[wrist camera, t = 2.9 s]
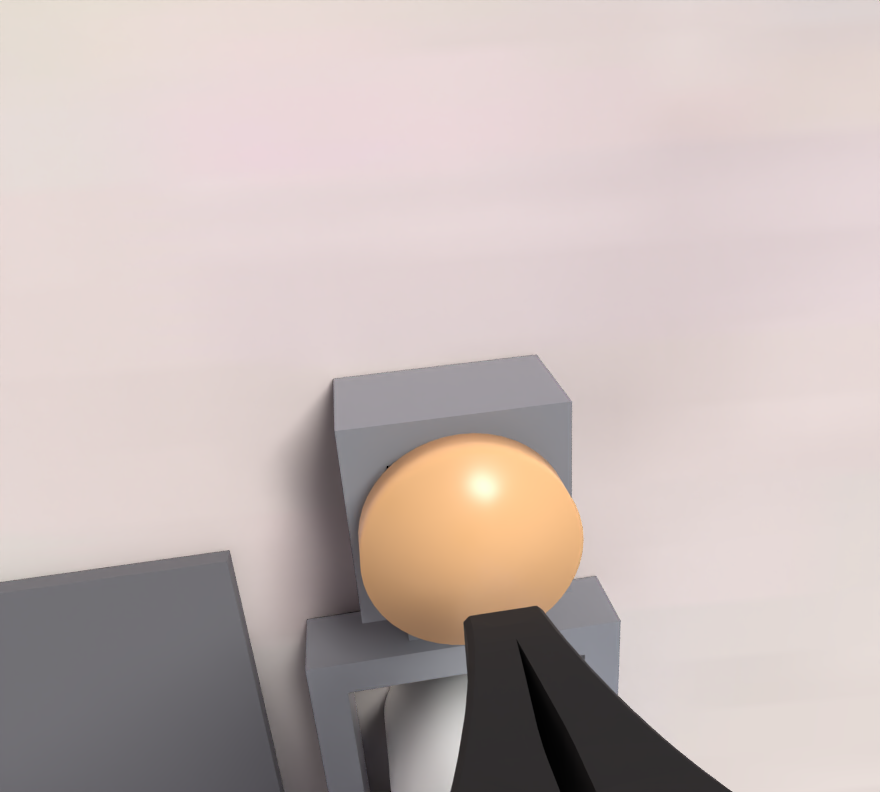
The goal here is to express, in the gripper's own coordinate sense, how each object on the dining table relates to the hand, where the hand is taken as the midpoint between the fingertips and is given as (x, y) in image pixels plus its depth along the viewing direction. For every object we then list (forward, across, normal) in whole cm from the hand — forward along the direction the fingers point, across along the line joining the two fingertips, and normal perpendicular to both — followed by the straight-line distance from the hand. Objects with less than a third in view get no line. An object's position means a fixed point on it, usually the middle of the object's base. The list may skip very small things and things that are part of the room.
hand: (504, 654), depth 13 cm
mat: (+7, +10, +8) cm, 15 cm away
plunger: (+7, 0, 0) cm, 7 cm away
